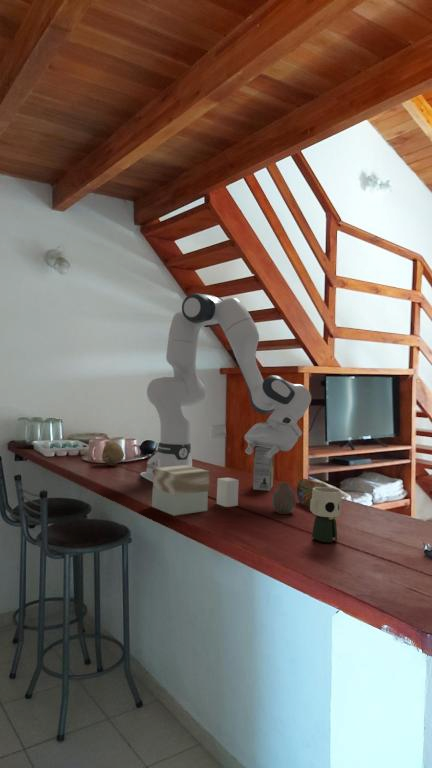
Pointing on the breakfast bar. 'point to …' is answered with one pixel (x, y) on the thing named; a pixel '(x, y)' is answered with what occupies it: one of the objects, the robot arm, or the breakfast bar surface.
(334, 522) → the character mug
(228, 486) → the offwhite block
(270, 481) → the coffee box
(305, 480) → the tin
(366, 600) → the breakfast bar surface
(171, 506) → the tower base
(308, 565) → the breakfast bar surface
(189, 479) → the tower top
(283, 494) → the vase
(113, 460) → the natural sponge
